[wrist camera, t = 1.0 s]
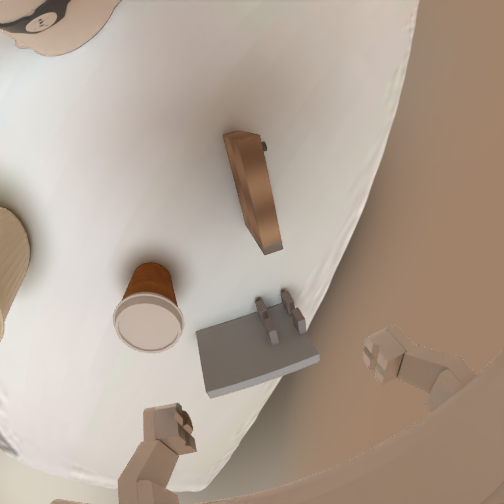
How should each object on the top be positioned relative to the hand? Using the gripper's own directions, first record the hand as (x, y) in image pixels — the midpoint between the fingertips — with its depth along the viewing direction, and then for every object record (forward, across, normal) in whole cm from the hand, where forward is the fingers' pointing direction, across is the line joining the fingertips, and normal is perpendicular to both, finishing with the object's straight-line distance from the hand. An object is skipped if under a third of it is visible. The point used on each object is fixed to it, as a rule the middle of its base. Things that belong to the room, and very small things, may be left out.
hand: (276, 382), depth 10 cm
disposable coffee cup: (+33, +12, +11) cm, 37 cm away
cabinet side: (+33, 0, +24) cm, 40 cm away
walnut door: (+32, -6, 0) cm, 33 cm away
